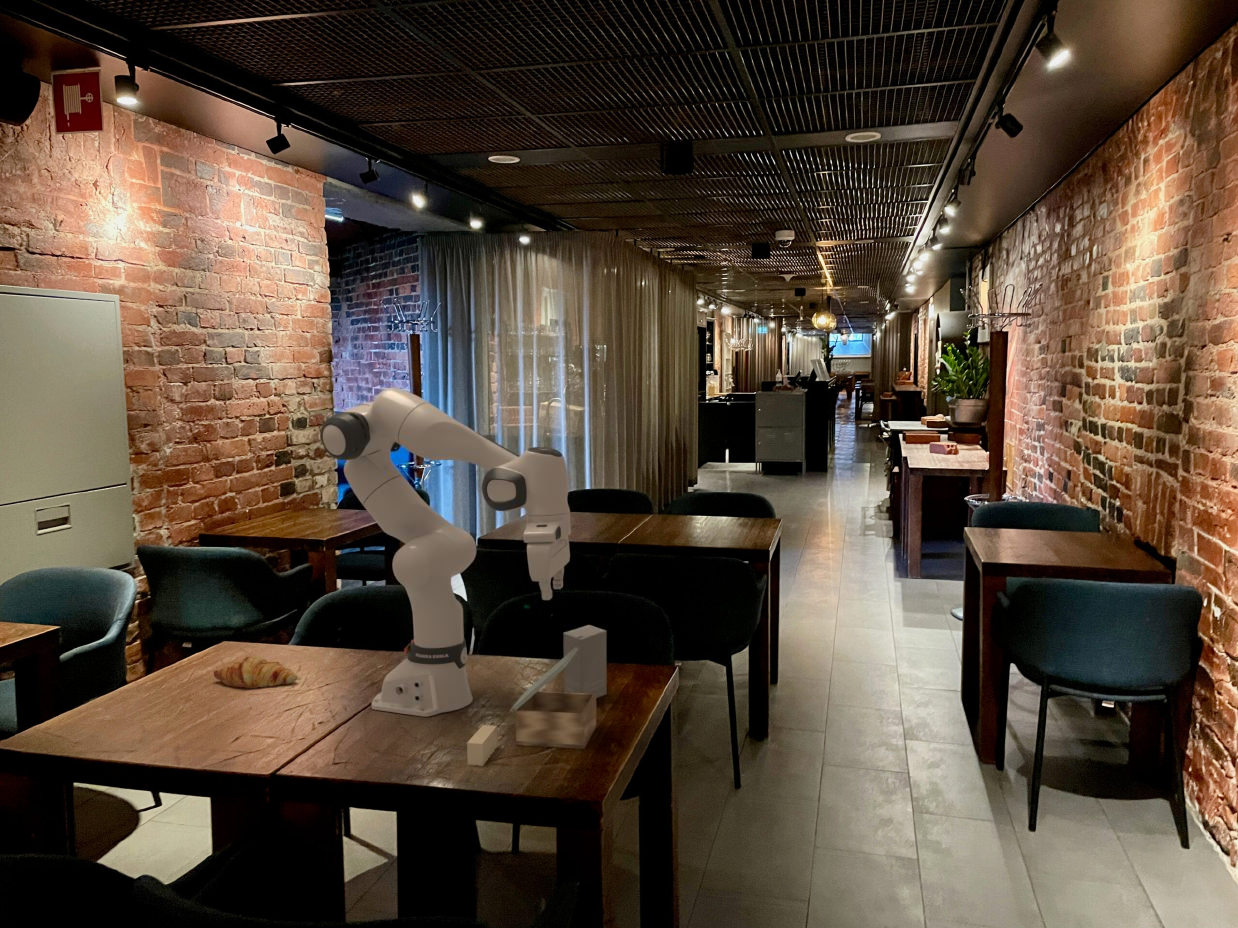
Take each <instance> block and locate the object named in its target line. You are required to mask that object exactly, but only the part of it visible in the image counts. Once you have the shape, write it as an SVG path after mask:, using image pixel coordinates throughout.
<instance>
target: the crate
mask: <svg viewBox="0 0 1238 928" xmlns="http://www.w3.org/2000/svg"><path fill="white" fill-rule="evenodd" d="M514 712H515V743H516V746H529V747H533V746H534V747H545V748H546V747H548V748H562V749H576V750H577V749H579V750H581V749H582V750H585V749H586V747H587V745H588V744H589V741H590V739H591V737H592V735H593V734H594V732H595V730H596V728H597V727H598V725H597V724H598V723H597V698H596V694H587V693H566V692H564V691H563V692H561V691H546V690H545V691H542V690H541V691H540V690H539V691H538V692H536V693H535V694H534V695H533V696H532V697H531V698H530V699H528V700H527V701H526V702H525V703H524V704H523V705H522V706H520V707H519V708H518V709H517V710H516V711H514Z"/></svg>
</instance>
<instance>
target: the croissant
mask: <svg viewBox="0 0 1238 928" xmlns="http://www.w3.org/2000/svg"><path fill="white" fill-rule="evenodd" d="M213 676H214V678H215V679H216V680H219V681H220V682H222V683H223V684H224V685H225V686H228V687H235V688H238V687H245V688H246V689H259V688H258V687H261V688H267V687H274V686H280V685H289V684H293V683H295V682H296V681H297V680H298V675H297V674H296V673H295V672H294V671H293V670H291V669H290V668H288V667H287V668H286V667H284V666H283V665H282V664H281V663H280V662H279V661H271V662H270V661H269V662H268V660H267V659H266V658H262V657H257V656H246V657H245V658H243V660H242V661H238V662H234V664H233V665H231V666H224V667H222V668H221V669H215V670H214V671H213ZM245 688H244V689H245Z"/></svg>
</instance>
